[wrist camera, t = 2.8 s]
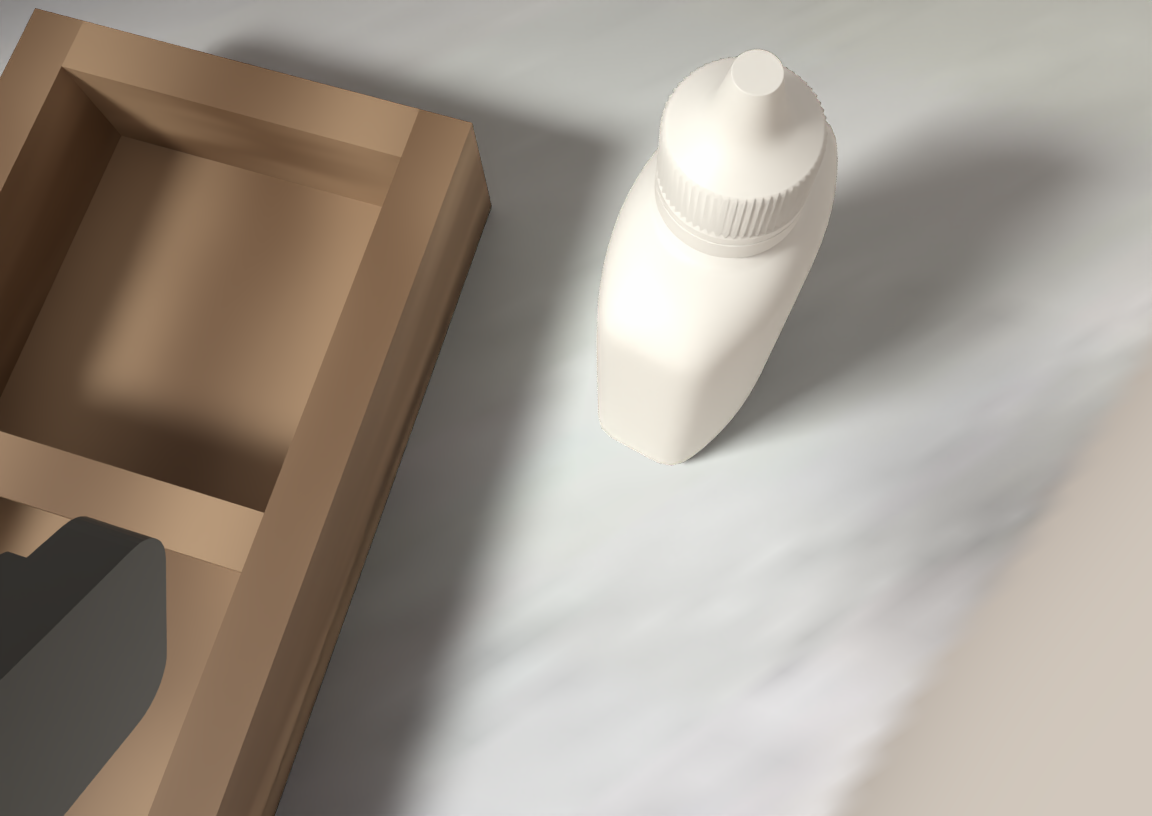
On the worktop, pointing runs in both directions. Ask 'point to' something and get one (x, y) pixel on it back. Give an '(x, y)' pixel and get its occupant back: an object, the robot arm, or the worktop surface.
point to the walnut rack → (218, 364)
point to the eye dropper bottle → (711, 253)
